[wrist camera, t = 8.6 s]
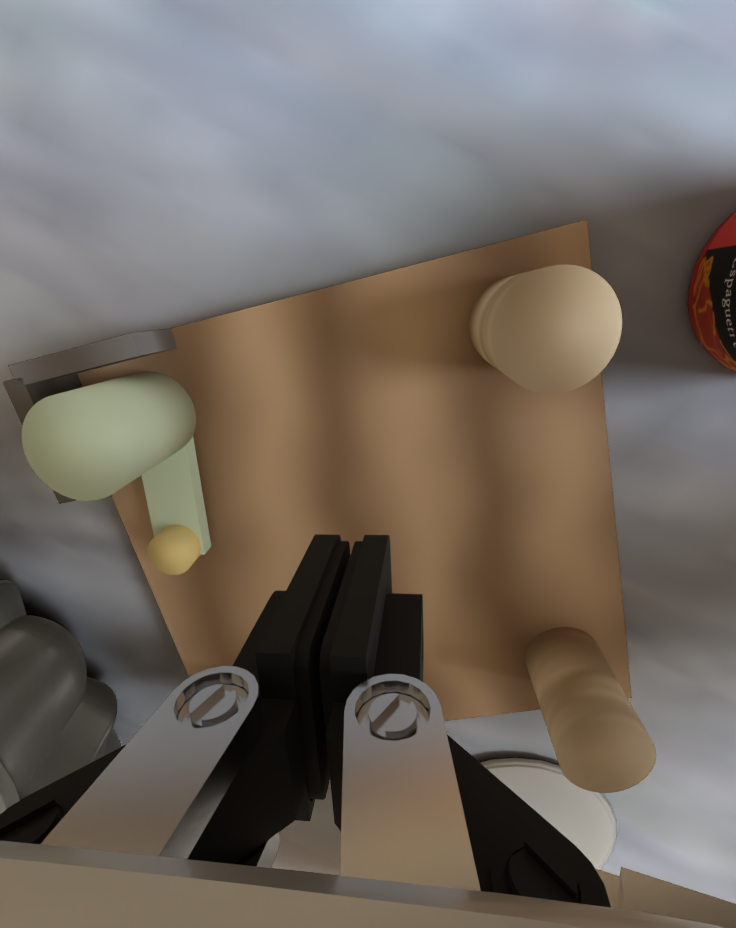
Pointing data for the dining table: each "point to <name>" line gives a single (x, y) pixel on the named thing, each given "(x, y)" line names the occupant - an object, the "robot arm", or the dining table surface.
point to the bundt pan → (46, 703)
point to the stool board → (412, 475)
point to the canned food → (716, 295)
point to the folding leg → (126, 455)
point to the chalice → (561, 804)
